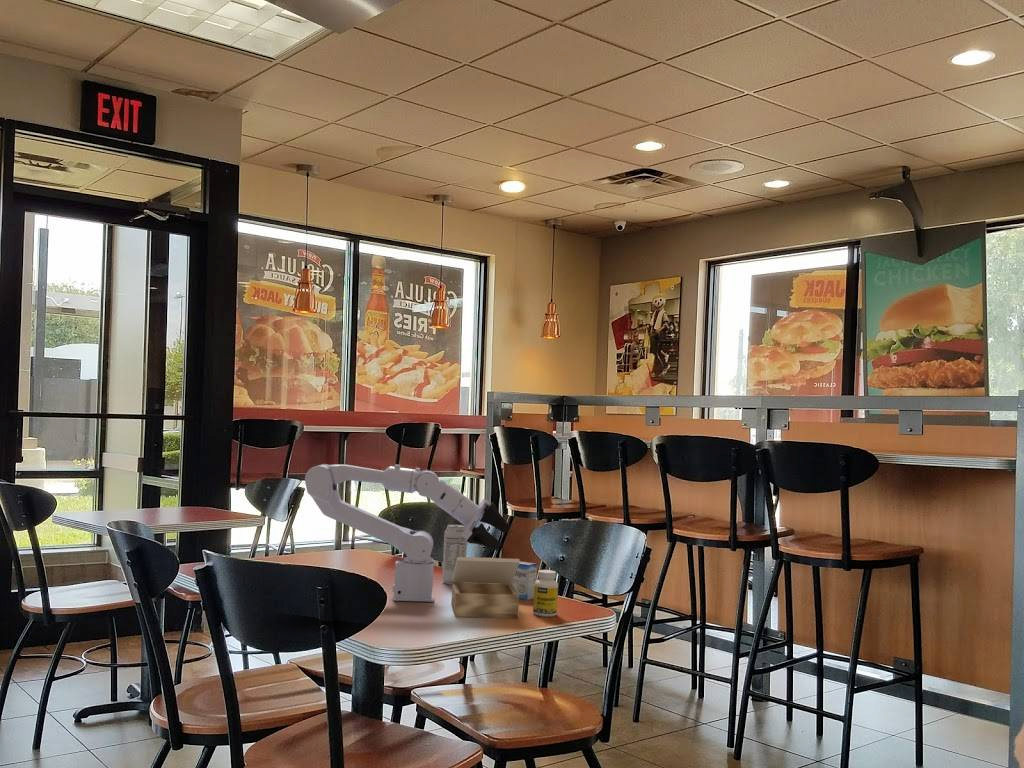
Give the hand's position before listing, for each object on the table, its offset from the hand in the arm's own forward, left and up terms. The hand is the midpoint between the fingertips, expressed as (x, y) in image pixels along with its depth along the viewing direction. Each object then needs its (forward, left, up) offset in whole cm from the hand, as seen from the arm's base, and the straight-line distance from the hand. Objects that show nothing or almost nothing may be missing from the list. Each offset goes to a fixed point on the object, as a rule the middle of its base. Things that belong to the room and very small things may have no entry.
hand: (503, 538), depth 226 cm
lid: (-5, -9, -7) cm, 13 cm away
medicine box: (+5, +8, -15) cm, 18 cm away
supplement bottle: (+9, -12, -15) cm, 22 cm away
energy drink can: (-10, +25, -15) cm, 31 cm away
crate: (-5, -10, -15) cm, 19 cm away
